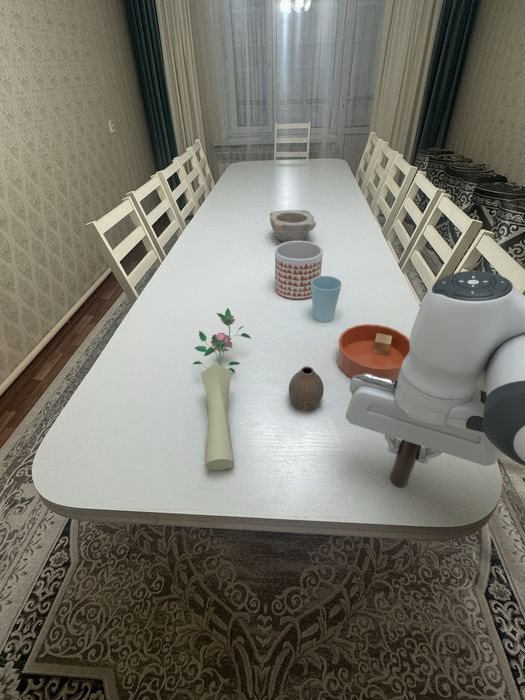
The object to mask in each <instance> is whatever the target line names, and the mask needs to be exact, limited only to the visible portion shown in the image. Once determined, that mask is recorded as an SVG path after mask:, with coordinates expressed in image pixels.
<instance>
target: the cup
mask: <svg viewBox="0 0 525 700" xmlns="http://www.w3.org/2000/svg"><path fill="white" fill-rule="evenodd" d="M311 287H312V297H311V301H312V303H311V305H312V317H313V318H314V320H315V321H316V322H320V323H328V322H331V321H333V320H334V317H335V314H336V309H337V306H338V305H337V304H338V301H339V297H340V292H341V289H342V281H341V279H339V278H338V277H335V276H330V275H321V276H319V277H316V278H314V279H313V280H312V281H311Z"/></svg>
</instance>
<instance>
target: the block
mask: <svg viewBox="0 0 525 700" xmlns="http://www.w3.org/2000/svg"><path fill="white" fill-rule="evenodd" d="M391 340H392V336H390V335H385V334H380V333H377V335H376V339H375V343H374V348H373V353H375V354H380V355H385V356H388V353H389V349H390V345H391Z"/></svg>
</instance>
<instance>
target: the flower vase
mask: <svg viewBox="0 0 525 700" xmlns="http://www.w3.org/2000/svg"><path fill="white" fill-rule="evenodd" d="M216 315H217V316H218V317H219V318H220V321H221V323H222V324H223V325H225V326H226V327H228V334H225V332H218V333H217V334H216V333H215V334H212V337H211V340H210V344H211V346H210V345H209V344H208V343H207V339H208V337H207V335H206V334H205V333H204V332H202V331H201V330H199V331H198V336H199V340H200V341H201V342H205V344H206V345H207V346H208V349H207V346H205V345H197V346H195V347H194V349H195V350H196V351H197V352H201V353H204V354H203V357H206V356H207V357H208V356H210V355H211V354H213V353H215V357H216V360H217V362H214V363H213V364H211V365H210V366H209V367H205V370H203V371H202V372H200V375H201V379H202V383H203V387H204V392H205V395H206V401H207V411H208V412H207V434H206V435H207V436H206V445H205V457H204V458H205V459H204V467H205V469H207V470H211V471H225V470H228V469H230V468H232V467H233V466H234V465H235V459H234V454H233V453H234V452H233V448H232V439H231V431H230V424H229V416H228V399H229V392H230V386H231V381H232V375H233V373H235V374H236V369H234V368H233V367H228V366H238V365H241V362H238V361H237V360H236V361H233V360H231V361H229V362H228V365H227V364H226V366H225V365H223V366H222V365H221V364H222V361H223V357H224V354H225V352H229V349H233V341H232V335H231V325H233V324H234V323H236V322H235V320H236V319H235V317H234V315H232V313H231V310H230V309H229V307H227V308H226V309H225V311H224V314H223V313H219V312H216ZM244 327H245V326H244V325H243V326H240V327H239V328H238V329H237V331H240V330H241V329H243V328H244ZM238 333H239V332H237V334H235V335H234V337H238V336H239V337H240V336H241V337H243V338H245V339H246V338H247V339H252V337H251V336H250V334H249V333H246V332H242V333H241V334H238ZM228 348H229V349H228ZM216 351H217V352H216ZM221 353H222V354H221ZM192 365H203V363H202V362H201V361H200V360H196V361H194V362H193V363H192Z"/></svg>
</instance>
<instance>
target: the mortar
mask: <svg viewBox="0 0 525 700" xmlns="http://www.w3.org/2000/svg"><path fill="white" fill-rule="evenodd" d="M269 222H270V226H271V229H272V231H273V233H274V235H275V237H276V238H277V240H278V241H280V242H282V243H285V242H289V241H305V239H306V237H307V236H308V234H309V233H310V232H312V231H313V230H314V229H315V227H316V225H317V222H316V221H315V216H313V214H312V213H311V212H310V211H309V210H306V209H301V210H298V209H284V210H283V209H282V210H274V211H271V212H270V213H269Z"/></svg>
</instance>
